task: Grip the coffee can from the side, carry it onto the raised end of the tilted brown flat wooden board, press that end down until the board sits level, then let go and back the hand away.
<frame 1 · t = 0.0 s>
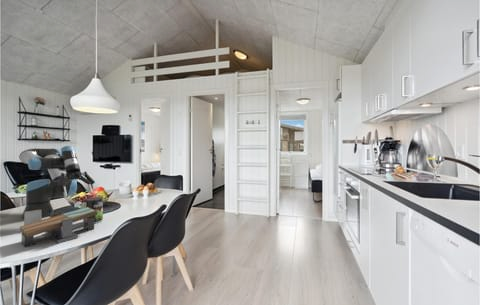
hand: (79, 195, 137), 15 cm above the table, tool tilted 35°, fingers open, 13 cm apart
coffee can: (93, 221, 134), on the table
tea bag: (33, 229, 121), on the table
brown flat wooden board: (61, 220, 112), point 8 cm above the table, hinge at 8.0°
pivot stand: (61, 235, 112), on the table
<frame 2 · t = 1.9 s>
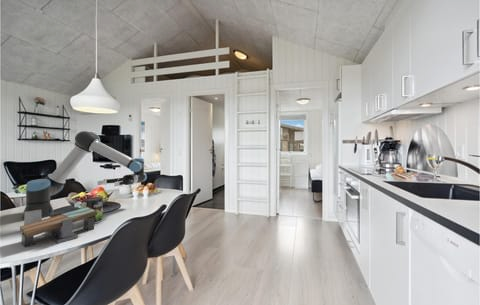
hand: (106, 183, 143), 22 cm above the table, tool horizontal, fingers open, 13 cm apart
nothing on the table moved.
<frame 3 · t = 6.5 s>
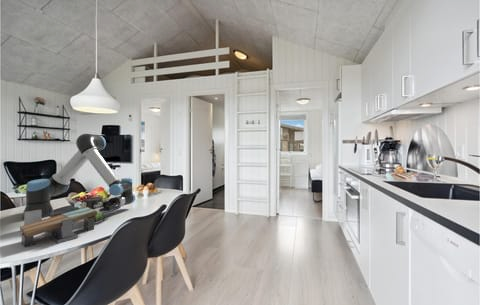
hand: (86, 211, 130), 8 cm above the table, tool horizontal, fingers closed on coffee can, 10 cm apart
coffee can: (93, 221, 134), on the table, touching gripper
everything else where it was.
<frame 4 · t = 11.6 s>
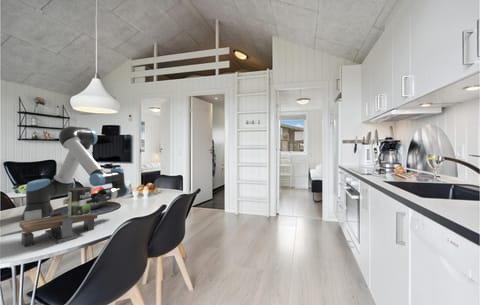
hand: (71, 202, 114), 16 cm above the table, tool horizontal, fingers closed on coffee can, 10 cm apart
coffee can: (79, 214, 118), point 9 cm above the table, touching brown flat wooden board, gripper
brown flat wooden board: (61, 220, 112), point 8 cm above the table, hinge at -0.5°, touching coffee can
everything else where it was.
when the fingers open (16 cm above the table, at t = 12.6 s): coffee can stays where it is, resting on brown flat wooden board.
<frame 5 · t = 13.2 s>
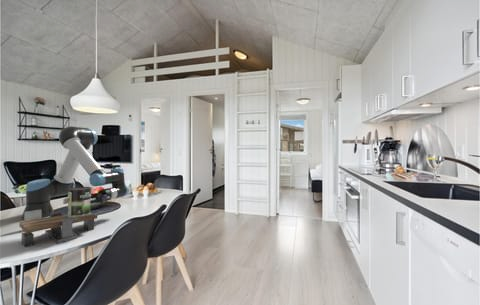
hand: (73, 202, 115), 16 cm above the table, tool horizontal, fingers open, 13 cm apart
coffee can: (79, 214, 118), point 9 cm above the table, touching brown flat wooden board
everything else where it was.
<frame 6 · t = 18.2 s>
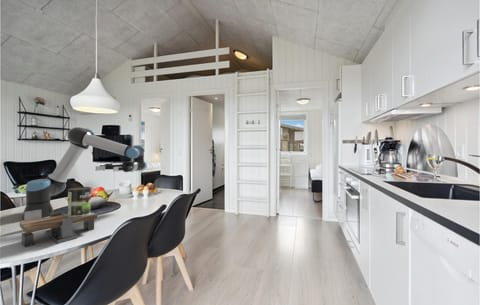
hand: (104, 168, 138), 32 cm above the table, tool horizontal, fingers open, 13 cm apart
nothing on the table moved.
at the end: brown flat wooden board at +0° (first picture: +8°); coffee can inside the target area (0.3 cm from its centre), point 8.9 cm above the table; the gripper is holding nothing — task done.
